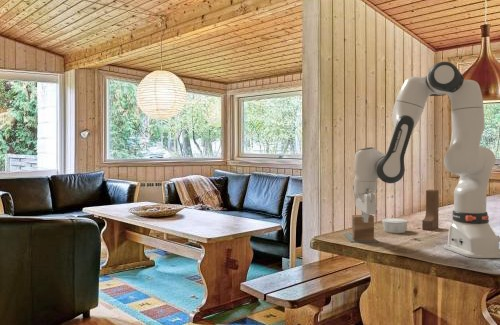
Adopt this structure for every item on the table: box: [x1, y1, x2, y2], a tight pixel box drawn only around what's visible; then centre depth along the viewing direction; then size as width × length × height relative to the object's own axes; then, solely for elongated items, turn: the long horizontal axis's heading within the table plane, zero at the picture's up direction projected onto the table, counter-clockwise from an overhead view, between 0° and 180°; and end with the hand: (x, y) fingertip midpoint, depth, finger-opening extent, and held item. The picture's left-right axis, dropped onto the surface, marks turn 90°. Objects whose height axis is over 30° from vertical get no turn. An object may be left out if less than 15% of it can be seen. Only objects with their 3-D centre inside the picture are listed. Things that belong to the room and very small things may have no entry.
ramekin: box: [381, 217, 409, 234], centre depth 206 cm, size 11×11×5 cm
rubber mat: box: [343, 232, 379, 243], centre depth 192 cm, size 16×11×1 cm
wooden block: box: [421, 189, 440, 231], centre depth 210 cm, size 9×4×18 cm, turn 139°
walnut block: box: [351, 214, 375, 241], centre depth 187 cm, size 4×8×10 cm, turn 89°
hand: (365, 221), depth 182 cm, fingers closed
